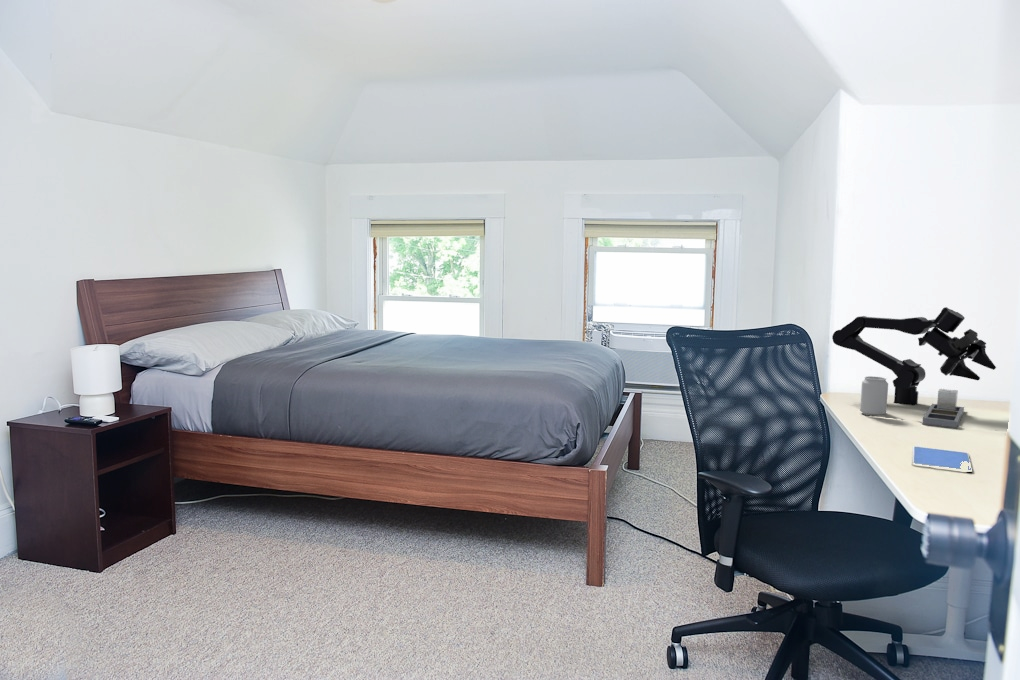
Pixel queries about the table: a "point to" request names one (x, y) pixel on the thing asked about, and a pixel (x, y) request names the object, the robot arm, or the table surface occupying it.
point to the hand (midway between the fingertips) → (987, 373)
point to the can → (874, 396)
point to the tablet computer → (939, 457)
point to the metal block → (947, 399)
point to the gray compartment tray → (943, 417)
